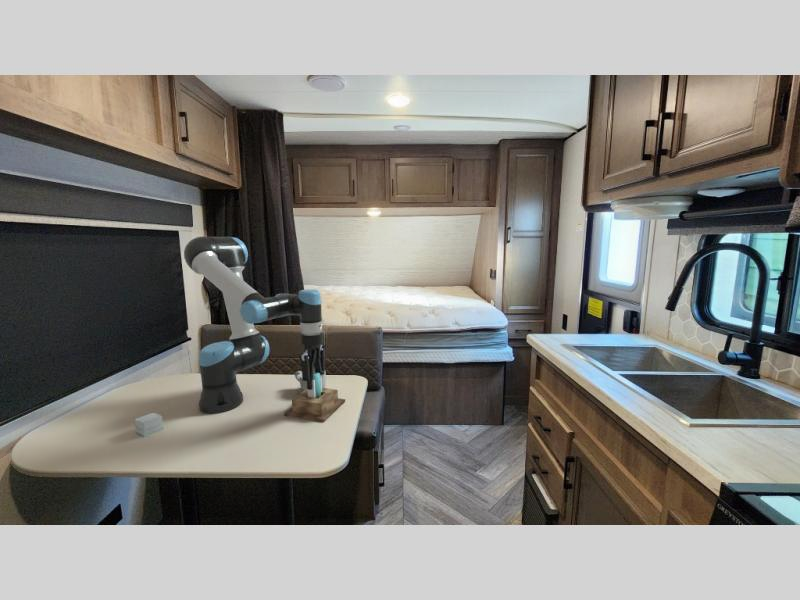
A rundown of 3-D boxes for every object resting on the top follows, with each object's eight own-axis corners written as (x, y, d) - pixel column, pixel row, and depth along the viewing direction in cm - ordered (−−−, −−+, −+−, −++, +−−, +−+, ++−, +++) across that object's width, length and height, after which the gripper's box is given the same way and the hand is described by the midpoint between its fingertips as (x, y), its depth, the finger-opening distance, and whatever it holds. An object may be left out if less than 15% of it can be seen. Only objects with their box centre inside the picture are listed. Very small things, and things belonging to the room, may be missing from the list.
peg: (308, 406, 125) (306, 375, 123) (314, 402, 129) (312, 371, 127) (317, 408, 124) (316, 377, 122) (323, 403, 128) (321, 373, 126)
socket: (284, 415, 122) (283, 401, 121) (309, 396, 137) (308, 383, 136) (324, 422, 117) (323, 407, 116) (345, 401, 132) (344, 388, 131)
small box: (164, 429, 114) (162, 415, 113) (144, 437, 109) (142, 423, 108) (155, 425, 117) (153, 411, 116) (135, 433, 112) (133, 419, 111)
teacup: (332, 388, 144) (331, 370, 143) (312, 398, 135) (311, 379, 134) (308, 382, 151) (307, 364, 150) (289, 391, 142) (287, 372, 141)
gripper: (307, 339, 113) (311, 405, 117) (332, 327, 129) (335, 386, 133) (288, 338, 115) (292, 403, 119) (315, 326, 131) (318, 384, 135)
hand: (315, 394), depth 126 cm, fingers closed on peg, 4 cm apart
